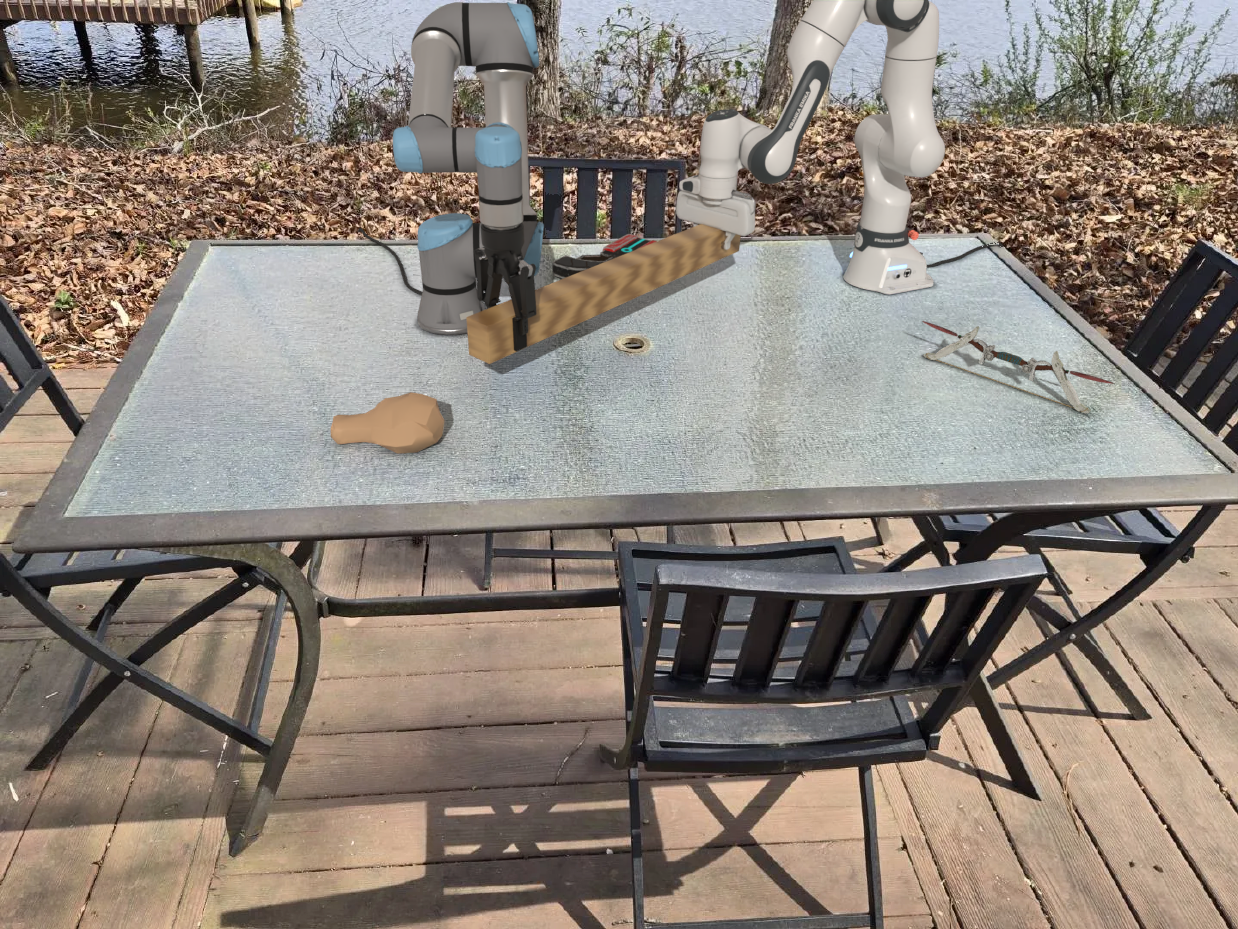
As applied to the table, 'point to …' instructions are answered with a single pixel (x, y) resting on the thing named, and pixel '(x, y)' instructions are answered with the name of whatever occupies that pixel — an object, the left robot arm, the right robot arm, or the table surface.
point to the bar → (598, 290)
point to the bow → (1026, 366)
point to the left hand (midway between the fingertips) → (508, 343)
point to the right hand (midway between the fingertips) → (712, 245)
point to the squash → (393, 424)
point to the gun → (598, 256)
